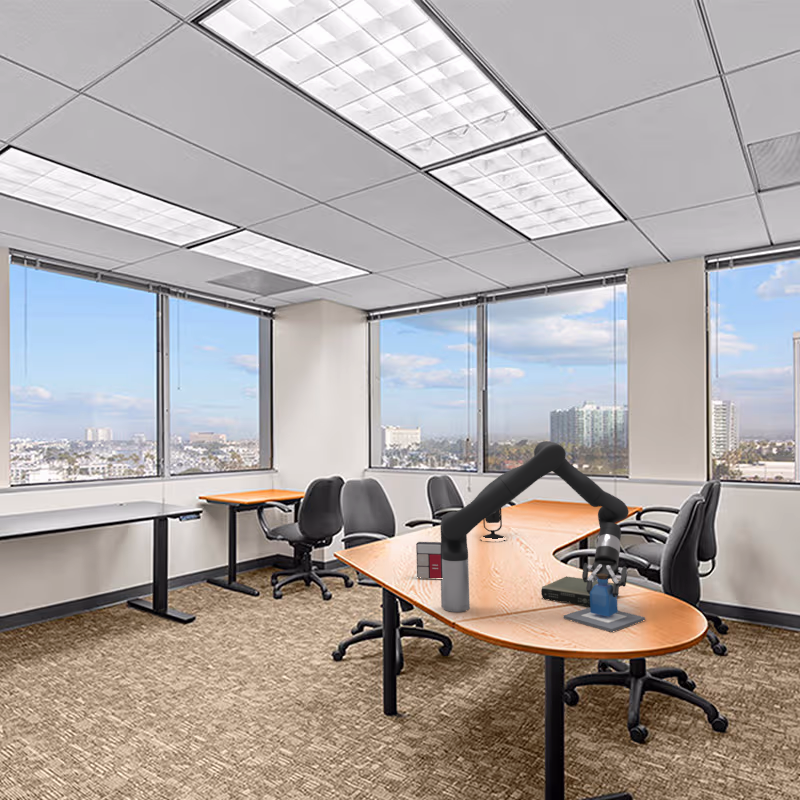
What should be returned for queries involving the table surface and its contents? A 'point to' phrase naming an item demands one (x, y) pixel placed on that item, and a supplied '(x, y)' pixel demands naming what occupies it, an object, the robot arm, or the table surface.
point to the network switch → (568, 591)
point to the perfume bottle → (603, 597)
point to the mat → (604, 619)
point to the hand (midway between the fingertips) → (601, 594)
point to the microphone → (494, 518)
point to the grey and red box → (429, 560)
